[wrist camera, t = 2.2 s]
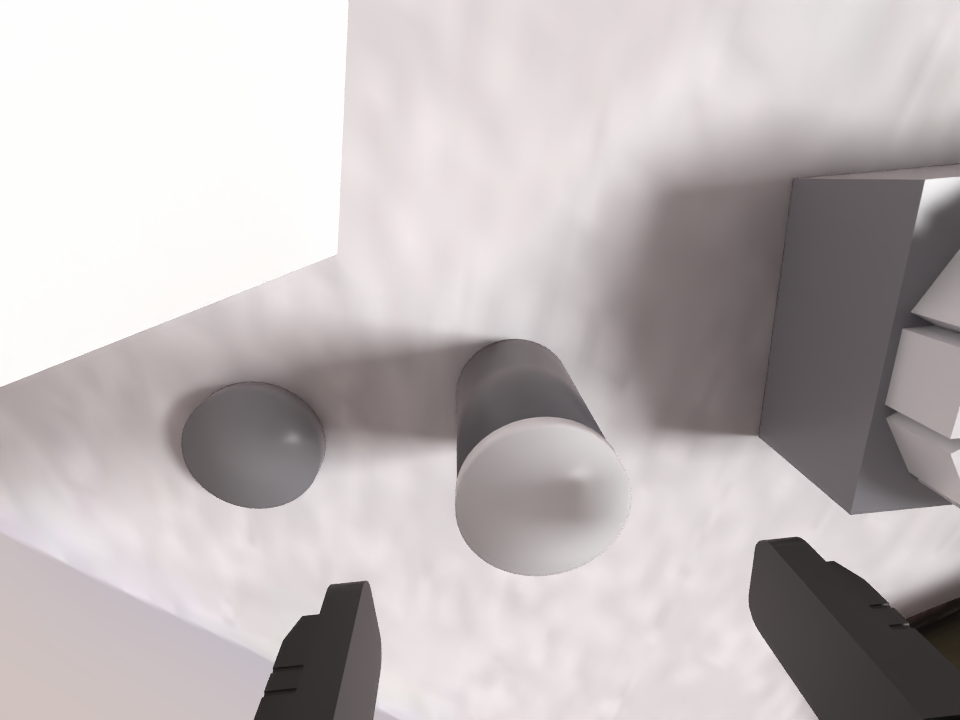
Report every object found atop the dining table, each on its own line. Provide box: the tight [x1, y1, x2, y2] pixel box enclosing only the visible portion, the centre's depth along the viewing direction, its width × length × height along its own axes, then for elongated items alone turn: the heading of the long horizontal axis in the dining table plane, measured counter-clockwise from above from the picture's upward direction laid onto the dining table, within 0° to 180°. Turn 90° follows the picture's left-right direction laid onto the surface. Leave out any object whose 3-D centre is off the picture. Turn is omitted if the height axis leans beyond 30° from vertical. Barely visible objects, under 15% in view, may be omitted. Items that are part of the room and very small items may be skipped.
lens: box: [455, 339, 631, 576], centre depth 16 cm, size 4×4×7 cm
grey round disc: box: [181, 382, 326, 509], centre depth 19 cm, size 5×5×1 cm
